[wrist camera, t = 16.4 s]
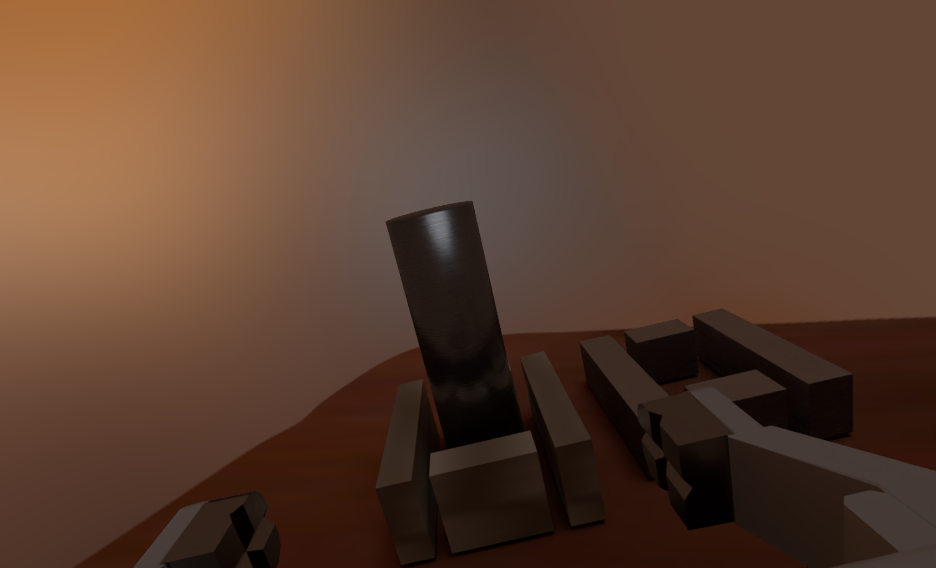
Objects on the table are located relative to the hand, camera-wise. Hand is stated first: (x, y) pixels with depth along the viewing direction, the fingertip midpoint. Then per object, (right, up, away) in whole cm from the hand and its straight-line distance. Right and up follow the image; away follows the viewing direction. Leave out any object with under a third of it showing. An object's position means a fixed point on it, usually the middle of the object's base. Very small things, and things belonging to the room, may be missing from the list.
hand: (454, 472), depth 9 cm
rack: (+2, -6, +14) cm, 15 cm away
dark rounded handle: (+2, -6, +14) cm, 15 cm away
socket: (+13, -3, +16) cm, 21 cm away
